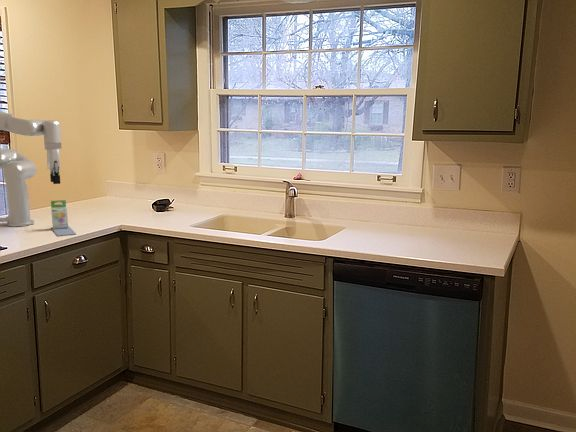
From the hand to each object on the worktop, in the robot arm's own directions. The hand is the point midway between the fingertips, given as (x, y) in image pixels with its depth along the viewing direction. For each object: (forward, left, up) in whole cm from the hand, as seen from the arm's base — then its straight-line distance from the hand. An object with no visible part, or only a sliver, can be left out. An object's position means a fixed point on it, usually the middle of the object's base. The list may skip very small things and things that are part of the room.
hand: (55, 182), depth 264 cm
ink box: (0, -8, -22) cm, 23 cm away
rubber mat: (0, -14, -22) cm, 26 cm away
